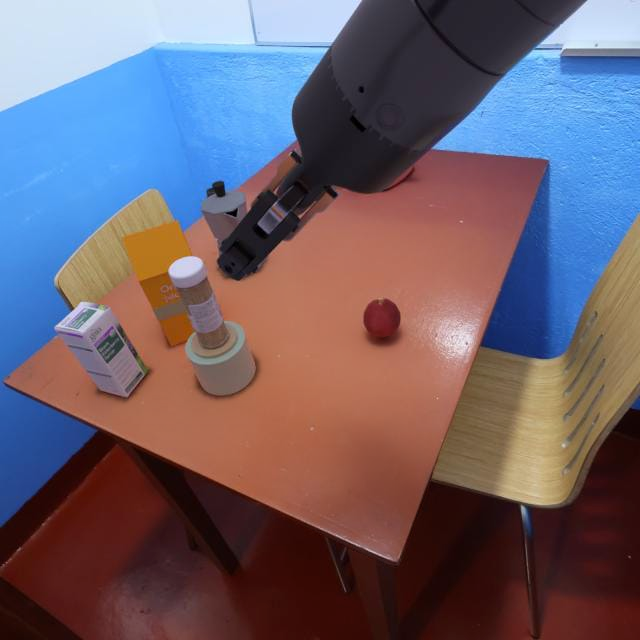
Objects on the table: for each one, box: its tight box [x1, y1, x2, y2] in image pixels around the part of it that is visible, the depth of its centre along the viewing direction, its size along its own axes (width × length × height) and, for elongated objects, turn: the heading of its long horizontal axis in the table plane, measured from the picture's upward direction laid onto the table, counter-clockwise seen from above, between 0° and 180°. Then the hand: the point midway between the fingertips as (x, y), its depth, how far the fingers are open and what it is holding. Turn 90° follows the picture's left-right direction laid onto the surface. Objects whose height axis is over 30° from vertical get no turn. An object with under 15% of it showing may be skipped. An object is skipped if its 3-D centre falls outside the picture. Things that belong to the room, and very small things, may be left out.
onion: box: [362, 297, 402, 338], centre depth 73 cm, size 6×6×8 cm
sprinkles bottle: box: [168, 255, 229, 349], centre depth 64 cm, size 5×5×14 cm
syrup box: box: [53, 301, 149, 398], centre depth 71 cm, size 6×6×14 cm
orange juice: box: [121, 219, 195, 347], centre depth 77 cm, size 8×9×20 cm
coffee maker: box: [200, 180, 264, 278], centre depth 90 cm, size 15×9×18 cm, turn 31°
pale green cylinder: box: [184, 320, 257, 397], centre depth 72 cm, size 9×9×8 cm
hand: (258, 238), depth 37 cm, fingers open, 8 cm apart
